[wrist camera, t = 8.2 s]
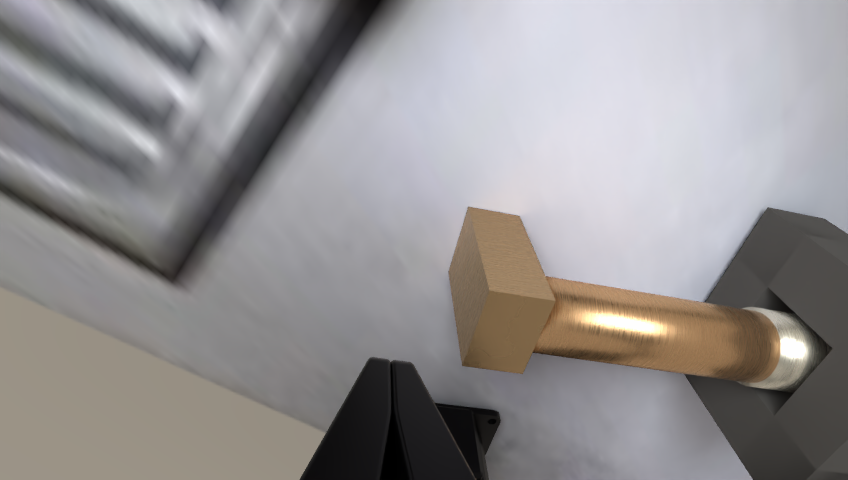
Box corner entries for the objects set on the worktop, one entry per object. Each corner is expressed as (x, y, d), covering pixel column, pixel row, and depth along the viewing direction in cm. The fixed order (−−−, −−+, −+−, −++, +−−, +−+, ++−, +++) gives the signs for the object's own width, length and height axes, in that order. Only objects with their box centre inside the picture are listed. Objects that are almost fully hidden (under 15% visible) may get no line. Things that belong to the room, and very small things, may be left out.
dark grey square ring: (824, 218, 23) (1028, 353, 15) (720, 361, 27) (837, 517, 20) (767, 207, 22) (950, 340, 15) (671, 354, 27) (773, 511, 19)
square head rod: (855, 277, 25) (980, 370, 20) (811, 330, 27) (914, 428, 21) (468, 206, 22) (490, 293, 16) (448, 272, 24) (462, 368, 18)
